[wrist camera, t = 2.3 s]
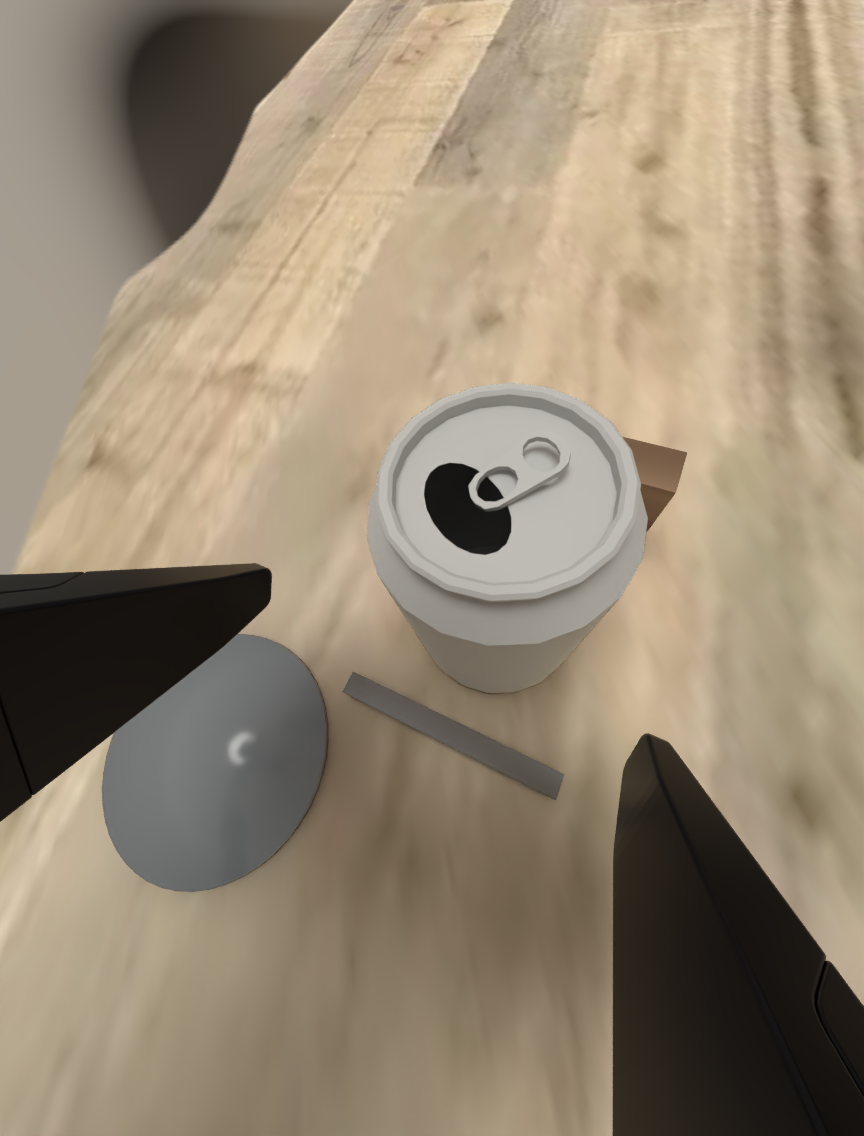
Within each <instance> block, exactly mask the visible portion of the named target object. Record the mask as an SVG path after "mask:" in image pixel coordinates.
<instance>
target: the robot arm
mask: <svg viewBox="0 0 864 1136" xmlns="http://www.w3.org/2000/svg"><path fill="white" fill-rule="evenodd" d="M271 583H272V573H271V571H270V570H269V569H268V568H266V567H264V566H261V565H259V564H256V563H252V564H232V565H212V566H191V567H171V568H151V569H131V570H110V571H90V572H85V573H84V572H69V573H45V574H13V575H0V822H1V821H2V820H3V819H5V818H6V817H7V816H8V815H10V814H11V813H12V812H14V811H15V810H16V809H17V808H19V807H20V806H21V805H23V804H24V803H25V802H26V801H28V800H29V799H30V798H31V797H32V795H35V794H36V793H37V792H39V791H40V790H41V789H42V788H44V787H45V786H46V785H48V784H49V783H50V782H51V781H53V780H54V779H55V778H57V777H58V776H59V775H60V774H62V773H63V772H64V771H66V770H67V769H68V768H69V767H71V766H72V765H73V764H75V763H76V762H77V761H78V760H80V759H81V758H82V757H83V756H85V755H86V754H87V753H89V752H90V751H91V750H92V749H94V748H95V747H96V746H98V745H99V744H100V743H101V742H103V741H104V740H105V739H107V738H108V737H109V736H110V735H112V734H113V733H114V732H115V731H117V730H118V729H119V728H121V727H122V726H123V725H124V724H126V723H127V722H128V721H130V720H131V719H132V718H133V717H135V716H136V715H137V714H139V713H140V712H141V711H142V710H144V709H145V708H146V707H147V706H149V705H150V704H151V703H153V702H154V701H155V700H156V699H158V698H159V697H160V696H162V695H163V694H164V693H165V692H167V691H168V690H169V689H171V688H172V687H173V686H174V685H176V684H177V683H178V682H180V681H181V680H182V679H183V678H185V677H186V676H187V675H188V674H190V673H191V672H192V671H194V670H195V669H196V668H197V667H199V666H200V665H201V664H203V663H204V662H205V661H206V660H208V659H209V658H210V657H212V656H213V655H214V654H215V653H217V652H218V651H219V650H220V649H221V648H223V647H224V646H225V645H226V644H227V643H228V642H229V641H231V640H232V639H233V638H234V637H235V636H236V635H237V634H238V633H239V632H240V631H241V630H242V629H243V628H244V627H245V626H246V625H248V624H249V623H250V622H251V621H252V620H253V619H254V618H255V617H256V616H257V615H258V614H259V613H260V612H261V611H262V610H263V609H265V608H266V606H267V605H268V604H269V602H270V599H271ZM825 960H826V955H825V953H824V952H823V951H822V949H821V948H820V946H819V945H818V944H817V942H816V941H815V940H814V938H813V937H812V936H811V934H810V933H809V932H808V930H807V929H806V927H805V926H804V925H803V923H802V922H801V921H800V919H799V918H798V917H797V915H796V914H795V913H794V911H793V910H792V908H791V907H790V906H789V904H788V903H787V902H786V900H785V899H784V898H783V896H782V895H781V894H780V892H779V891H778V889H777V888H776V887H775V885H774V884H773V883H772V881H771V880H770V879H769V877H768V876H767V875H766V873H765V872H764V870H763V869H762V868H761V866H760V865H759V864H758V862H757V861H756V860H755V858H754V857H753V856H752V854H751V853H750V851H749V850H748V849H747V847H746V846H745V845H744V843H743V842H742V841H741V839H740V838H739V837H738V835H737V834H736V832H735V831H734V830H733V828H732V827H731V826H730V824H729V823H728V822H727V820H726V819H725V818H724V816H723V815H722V813H721V812H720V811H719V809H718V808H717V807H716V805H715V804H714V803H713V801H712V800H711V798H710V797H709V796H708V794H707V793H706V792H705V790H704V789H703V788H702V786H701V785H700V784H699V782H698V781H697V779H696V778H695V777H694V775H693V774H692V773H691V771H690V770H689V769H688V767H687V766H686V765H685V763H684V762H683V760H682V759H681V758H680V756H679V755H678V754H677V752H676V751H675V750H674V748H673V747H672V746H671V744H670V743H669V742H667V741H665V740H663V739H661V738H658V737H656V736H654V735H651V734H649V733H647V734H644V735H643V736H642V737H641V738H640V740H639V741H638V743H637V745H636V746H635V748H634V750H633V751H632V753H631V755H630V756H629V758H628V760H627V762H626V764H625V767H624V770H623V776H622V784H621V792H620V800H619V808H618V817H617V825H616V833H615V842H614V856H613V1136H864V1006H863V1004H862V1003H861V1002H860V1000H859V999H858V998H857V996H856V995H855V994H854V992H853V991H852V990H851V988H850V987H849V986H848V984H847V983H846V981H845V980H844V979H843V977H842V976H841V975H840V973H839V972H838V971H837V969H836V968H835V967H834V965H833V964H832V963H831V962H829V961H825Z"/></svg>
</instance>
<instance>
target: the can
mask: <svg viewBox="0 0 864 1136" xmlns="http://www.w3.org/2000/svg"><path fill="white" fill-rule="evenodd" d="M640 488H641V482H640V479H639V475H638V471H637V468H636V464H635V460H634V456H633V453H632V450H631V448H630V447H629V446H628V444H627V443H626V441H625V440H624V439H623V437H622V436H621V435H620V433H619V432H618V430H617V429H616V428H615V426H614V425H613V424H612V422H611V421H610V420H608V419H607V418H606V417H604V416H603V415H602V414H600V413H599V412H597V411H596V410H595V409H593V408H592V407H590V406H589V405H588V404H586V403H585V402H584V401H582V400H580V399H577V398H575V397H572V396H569V395H567V394H564V393H561V392H559V391H556V390H553V389H551V388H548V387H542V386H534V385H525V384H516V383H504V384H496V385H487V386H478V387H473V388H470V389H467V390H464V391H462V392H459V393H456V394H453V395H450V396H448V397H445V398H442V399H440V400H438V401H437V402H435V403H434V404H432V405H431V406H429V407H428V408H426V409H425V410H423V411H422V412H420V413H419V414H417V415H416V416H414V417H413V418H411V420H410V421H409V422H408V423H407V424H406V425H405V427H404V428H403V429H402V430H401V431H400V432H399V433H398V435H397V436H396V437H395V438H394V439H393V440H392V442H391V443H390V445H389V447H388V449H387V452H386V454H385V456H384V459H383V461H382V463H381V466H380V468H379V470H378V473H377V485H376V488H375V490H374V492H373V495H372V497H371V499H370V502H369V512H368V528H367V541H368V544H369V547H370V551H371V554H372V557H373V561H374V564H375V567H376V570H377V574H378V576H379V577H380V579H381V581H382V582H383V584H384V585H385V587H386V588H387V590H388V591H389V593H390V595H391V596H392V598H393V599H394V601H395V602H396V604H397V605H398V607H399V608H400V610H401V612H402V613H403V615H404V616H405V618H406V619H407V621H408V622H409V624H410V626H411V627H412V629H413V630H414V632H415V633H416V635H417V636H418V638H419V639H420V641H421V643H422V644H423V646H424V647H425V649H426V650H427V652H428V653H429V654H430V656H431V657H432V658H433V660H434V661H435V662H436V664H437V665H438V666H439V668H440V669H441V670H442V671H443V672H444V673H446V674H447V675H448V676H450V677H451V678H453V679H454V680H456V681H457V682H458V683H460V684H461V685H463V686H466V687H469V688H473V689H476V690H479V691H482V692H486V693H514V692H517V691H520V690H523V689H525V688H528V687H531V686H533V685H536V684H539V683H540V682H541V681H543V680H544V679H545V678H546V677H547V676H549V675H550V674H551V673H552V672H553V671H555V670H556V669H557V668H558V667H559V666H560V665H561V664H562V663H563V662H564V661H565V659H566V658H567V657H568V656H569V655H570V654H571V653H572V652H573V650H574V649H575V648H576V647H577V646H578V645H579V644H580V643H581V641H582V640H583V639H584V638H585V637H586V636H587V635H588V634H589V632H590V631H591V630H592V629H593V628H594V627H595V626H596V624H597V623H598V622H599V621H600V620H601V619H602V618H603V617H604V615H605V614H606V613H607V612H608V611H609V610H610V609H611V608H612V606H613V605H614V604H615V603H616V602H617V601H618V600H619V599H620V597H621V596H622V594H623V593H624V591H625V589H626V587H627V586H628V584H629V582H630V580H631V579H632V577H633V575H634V573H635V571H636V570H637V568H638V566H639V564H640V563H641V561H642V559H643V553H644V545H645V537H646V529H647V521H648V517H647V513H646V510H645V506H644V502H643V498H642V495H641V491H640Z"/></svg>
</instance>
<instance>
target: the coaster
mask: <svg viewBox="0 0 864 1136" xmlns="http://www.w3.org/2000/svg"><path fill="white" fill-rule="evenodd" d="M327 744H328V722H327V715H326V708H325V705H324V701H323V697H322V694H321V691H320V689H319V687H318V685H317V682H316V680H315V679H314V677H313V675H312V674H311V672H310V670H309V669H308V668H307V667H306V665H305V664H304V663H303V662H302V661H301V660H300V659H299V658H298V657H297V656H296V655H295V654H294V653H292V652H291V651H290V650H288V649H286V648H285V647H283V646H282V645H280V644H278V643H276V642H273V641H271V640H268V639H266V638H262V637H258V636H254V635H245V634H237V635H236V636H235V637H234V638H233V639H232V640H231V641H229V642H228V643H227V644H226V645H225V646H224V647H223V648H221V649H220V650H219V651H218V652H217V653H215V654H214V655H213V656H212V657H210V658H209V659H208V660H206V661H205V662H204V663H203V664H201V665H200V666H199V667H197V668H196V669H195V670H194V671H192V672H191V673H190V674H188V675H187V676H186V677H185V678H183V679H182V680H181V681H180V682H178V683H177V684H176V685H174V686H173V687H172V688H171V689H169V690H168V691H167V692H165V693H164V694H163V695H162V696H160V697H159V698H158V699H156V700H155V701H154V702H153V703H151V704H150V705H149V706H147V707H146V708H145V709H144V710H142V711H141V712H140V713H139V714H137V715H136V716H135V717H133V718H132V719H131V720H130V721H128V722H127V723H126V724H124V725H123V726H122V727H121V728H119V729H118V730H117V731H115V732H114V735H113V737H112V739H111V743H110V746H109V749H108V753H107V756H106V761H105V767H104V772H103V784H102V801H103V811H104V817H105V822H106V826H107V829H108V832H109V835H110V838H111V840H112V842H113V844H114V846H115V848H116V850H117V852H118V853H119V855H120V856H121V858H122V859H123V860H124V862H125V863H126V864H127V865H128V866H129V867H130V868H131V869H132V870H133V871H134V872H135V873H136V874H137V875H139V876H140V877H142V878H143V879H145V880H146V881H148V882H150V883H152V884H154V885H156V886H159V887H161V888H165V889H169V890H174V891H186V892H194V891H202V890H209V889H212V888H216V887H219V886H222V885H226V884H228V883H230V882H232V881H234V880H236V879H238V878H240V877H242V876H244V875H246V874H248V873H249V872H251V871H253V870H254V869H256V868H257V867H259V866H260V865H262V864H263V863H264V862H265V861H267V860H268V859H269V858H270V857H271V856H272V855H274V854H275V853H276V852H277V851H278V850H279V849H280V848H281V847H282V846H283V845H284V843H285V842H286V841H287V840H288V839H289V838H290V837H291V835H292V834H293V833H294V831H295V830H296V829H297V827H298V826H299V824H300V823H301V821H302V820H303V818H304V816H305V814H306V813H307V811H308V809H309V808H310V805H311V803H312V801H313V799H314V797H315V794H316V792H317V790H318V787H319V783H320V780H321V777H322V774H323V770H324V765H325V760H326V755H327Z"/></svg>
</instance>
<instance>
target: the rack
mask: <svg viewBox="0 0 864 1136" xmlns="http://www.w3.org/2000/svg"><path fill="white" fill-rule="evenodd" d="M623 439H624V440H625V441H626V443H627V444H628V446H629V447H630V448H631V450H632V453H633V456H634V460H635V464H636V468H637V471H638V475H639V479H640V482H641V488H640V491H641V495H642V498H643V502H644V506H645V510H646V513H647V517H648V521H647V529H646V532H647V531H648V530H649V528H650V527H651V526H652V524H653V523H654V521H655V520H656V519H657V517H658V516H659V515H660V513H661V512H662V511H663V509H664V508H665V507H666V505H667V504H668V503H669V501H670V500H671V498H672V497H673V496H674V494H675V493H676V490H677V487H678V483H679V480H680V476H681V473H682V469H683V466H684V462H685V459H686V455H687V452H683V451H679V450H675V449H670V448H666V447H662V446H658V445H654V444H650V443H646V442H642V441H637V440H633V439H629V438H625V437H623ZM343 692H344V693H346V694H348V695H350V696H352V697H354V698H356V699H358V700H359V701H361V702H363V703H365V704H367V705H369V706H371V707H373V708H375V709H377V710H379V711H381V712H383V713H385V714H387V715H389V716H391V717H393V718H395V719H397V720H399V721H401V722H403V723H405V724H407V725H409V726H411V727H413V728H415V729H417V730H418V731H420V732H422V733H424V734H426V735H428V736H430V737H432V738H434V739H436V740H438V741H440V742H442V743H444V744H446V745H448V746H450V747H452V748H454V749H456V750H458V751H460V752H462V753H464V754H466V755H468V756H470V757H472V758H474V759H476V760H478V761H479V762H481V763H483V764H485V765H487V766H489V767H491V768H493V769H495V770H497V771H499V772H501V773H503V774H505V775H507V776H509V777H511V778H513V779H515V780H517V781H519V782H521V783H523V784H525V785H527V786H529V787H531V788H533V789H535V790H537V791H539V792H540V793H542V794H544V795H546V796H548V797H550V798H552V799H554V800H556V798H557V795H558V792H559V789H560V785H561V782H562V779H563V776H564V774H562V773H560V772H558V771H556V770H554V769H552V768H550V767H547V766H545V765H543V764H541V763H539V762H537V761H535V760H533V759H531V758H529V757H527V756H525V755H523V754H521V753H519V752H517V751H515V750H513V749H511V748H508V747H506V746H504V745H502V744H500V743H498V742H496V741H494V740H492V739H490V738H488V737H486V736H484V735H482V734H480V733H478V732H476V731H474V730H472V729H470V728H467V727H465V726H463V725H461V724H459V723H457V722H455V721H453V720H451V719H449V718H447V717H445V716H443V715H441V714H439V713H437V712H435V711H433V710H431V709H428V708H426V707H424V706H422V705H420V704H418V703H416V702H414V701H412V700H410V699H408V698H406V697H404V696H402V695H400V694H398V693H396V692H394V691H392V690H390V689H387V688H385V687H383V686H381V685H379V684H377V683H375V682H373V681H371V680H369V679H367V678H365V677H363V676H361V675H359V674H357V673H355V672H353V673H352V675H351V677H350V679H349V681H348V683H347V684H346V686H345V688H344V690H343Z"/></svg>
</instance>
